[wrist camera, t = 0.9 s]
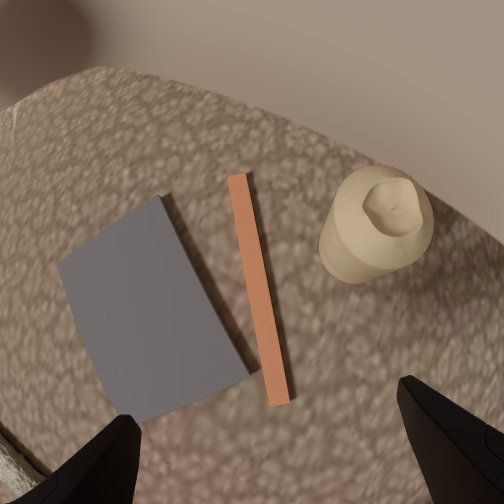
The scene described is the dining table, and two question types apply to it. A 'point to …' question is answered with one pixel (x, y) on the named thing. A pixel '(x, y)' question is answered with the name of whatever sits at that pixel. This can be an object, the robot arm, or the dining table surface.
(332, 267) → the candle
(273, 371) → the orange curved strip
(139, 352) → the mat
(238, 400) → the dining table surface
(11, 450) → the long grey stone
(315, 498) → the dining table surface
